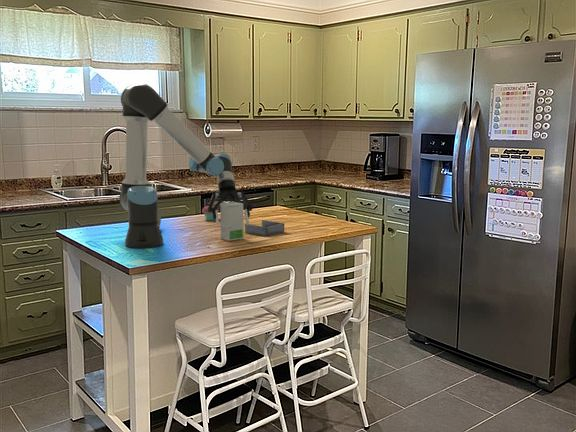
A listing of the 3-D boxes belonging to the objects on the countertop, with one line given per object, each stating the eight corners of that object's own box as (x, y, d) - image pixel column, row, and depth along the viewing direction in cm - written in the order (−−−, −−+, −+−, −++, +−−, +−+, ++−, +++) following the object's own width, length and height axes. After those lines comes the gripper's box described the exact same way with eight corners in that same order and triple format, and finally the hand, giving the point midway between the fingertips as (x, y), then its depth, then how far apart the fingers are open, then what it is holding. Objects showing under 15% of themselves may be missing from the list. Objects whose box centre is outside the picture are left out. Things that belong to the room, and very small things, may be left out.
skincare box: (228, 241, 240) (227, 205, 237) (219, 238, 245) (218, 203, 242) (244, 238, 245) (244, 203, 242) (235, 236, 250) (234, 201, 247)
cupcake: (222, 220, 287) (221, 196, 285) (206, 221, 283) (206, 197, 280) (214, 217, 294) (213, 194, 292) (199, 219, 290) (198, 195, 287)
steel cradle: (266, 236, 250) (266, 227, 249) (245, 232, 257) (245, 224, 256) (284, 231, 259) (284, 223, 259) (263, 228, 267) (263, 220, 266)
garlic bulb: (154, 231, 259) (153, 210, 257) (138, 230, 261) (137, 208, 259) (165, 227, 267) (164, 206, 266) (149, 226, 270) (148, 205, 268)
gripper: (251, 188, 259) (259, 227, 247) (198, 189, 253) (203, 230, 241) (254, 177, 253) (262, 217, 241) (199, 179, 247) (204, 220, 235)
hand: (232, 224), depth 241 cm, fingers open, 12 cm apart
